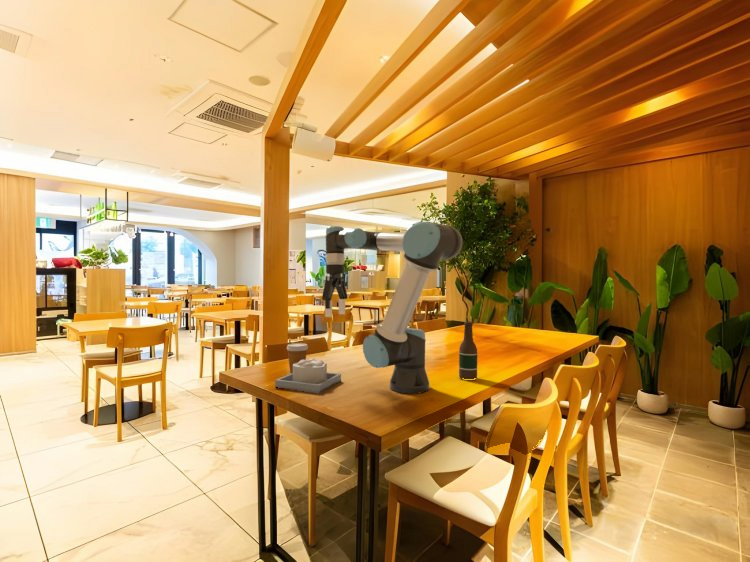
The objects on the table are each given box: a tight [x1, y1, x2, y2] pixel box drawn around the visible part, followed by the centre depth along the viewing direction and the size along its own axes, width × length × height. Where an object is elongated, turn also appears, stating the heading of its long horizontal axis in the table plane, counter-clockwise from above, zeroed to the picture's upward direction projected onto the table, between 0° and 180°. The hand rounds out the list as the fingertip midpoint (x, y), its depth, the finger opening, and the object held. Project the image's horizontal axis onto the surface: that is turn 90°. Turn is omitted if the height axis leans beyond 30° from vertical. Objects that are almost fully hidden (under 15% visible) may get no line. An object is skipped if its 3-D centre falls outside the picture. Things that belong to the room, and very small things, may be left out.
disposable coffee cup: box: [286, 342, 309, 373], centre depth 172 cm, size 10×10×12 cm
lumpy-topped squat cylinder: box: [293, 358, 328, 384], centre depth 150 cm, size 10×13×9 cm
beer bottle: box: [458, 321, 478, 379], centre depth 161 cm, size 8×8×24 cm
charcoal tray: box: [274, 372, 342, 394], centre depth 151 cm, size 19×18×3 cm
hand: (335, 315), depth 158 cm, fingers open, 13 cm apart
